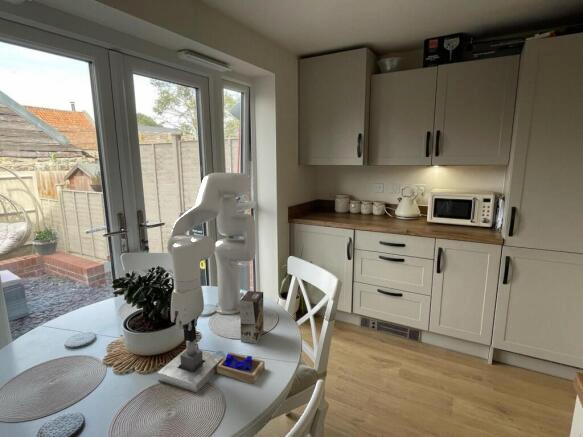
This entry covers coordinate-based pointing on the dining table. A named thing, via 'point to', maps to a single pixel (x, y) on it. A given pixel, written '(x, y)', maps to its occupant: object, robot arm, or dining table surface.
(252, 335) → the coffee box
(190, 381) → the socket plate
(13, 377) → the dining table surface
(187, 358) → the plug
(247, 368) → the cable holder
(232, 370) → the tidy tray
